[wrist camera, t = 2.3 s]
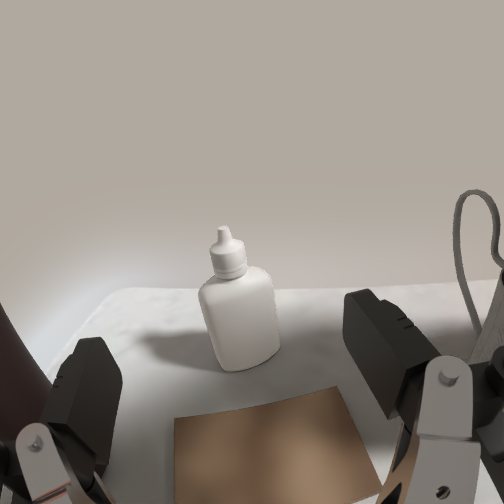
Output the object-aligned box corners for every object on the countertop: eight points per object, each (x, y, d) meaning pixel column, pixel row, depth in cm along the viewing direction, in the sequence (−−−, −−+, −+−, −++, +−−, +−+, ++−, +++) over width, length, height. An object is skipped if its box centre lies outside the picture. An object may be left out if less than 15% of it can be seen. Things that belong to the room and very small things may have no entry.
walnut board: (335, 393, 20) (336, 386, 19) (379, 492, 12) (383, 488, 11) (178, 424, 19) (174, 418, 18) (182, 532, 11) (176, 529, 10)
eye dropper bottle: (221, 339, 27) (190, 221, 22) (280, 335, 27) (264, 212, 22) (214, 374, 24) (174, 246, 18) (281, 370, 23) (264, 235, 18)
